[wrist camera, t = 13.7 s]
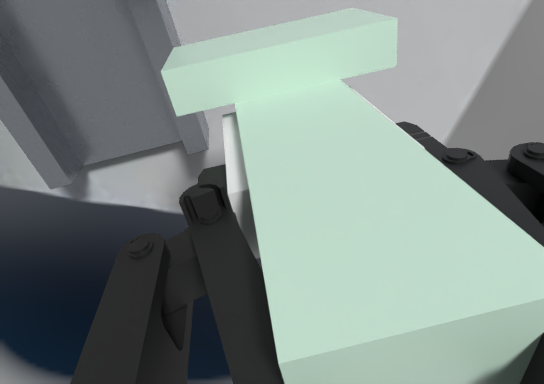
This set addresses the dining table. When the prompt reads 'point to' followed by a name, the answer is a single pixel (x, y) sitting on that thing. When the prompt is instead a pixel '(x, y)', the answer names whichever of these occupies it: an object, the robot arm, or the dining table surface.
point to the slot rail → (89, 82)
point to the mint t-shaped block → (363, 216)
